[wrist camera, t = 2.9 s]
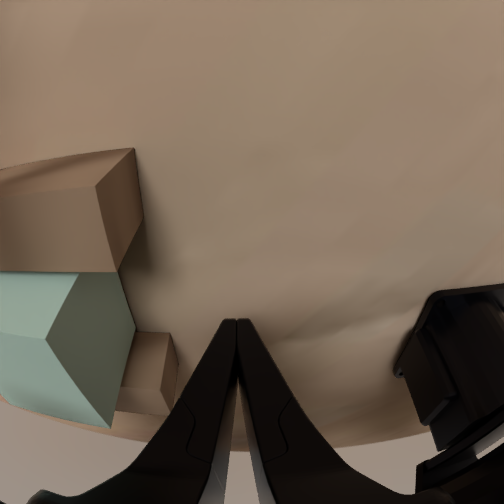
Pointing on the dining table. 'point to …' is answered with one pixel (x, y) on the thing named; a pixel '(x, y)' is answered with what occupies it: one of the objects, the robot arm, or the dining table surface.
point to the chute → (86, 247)
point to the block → (64, 343)
